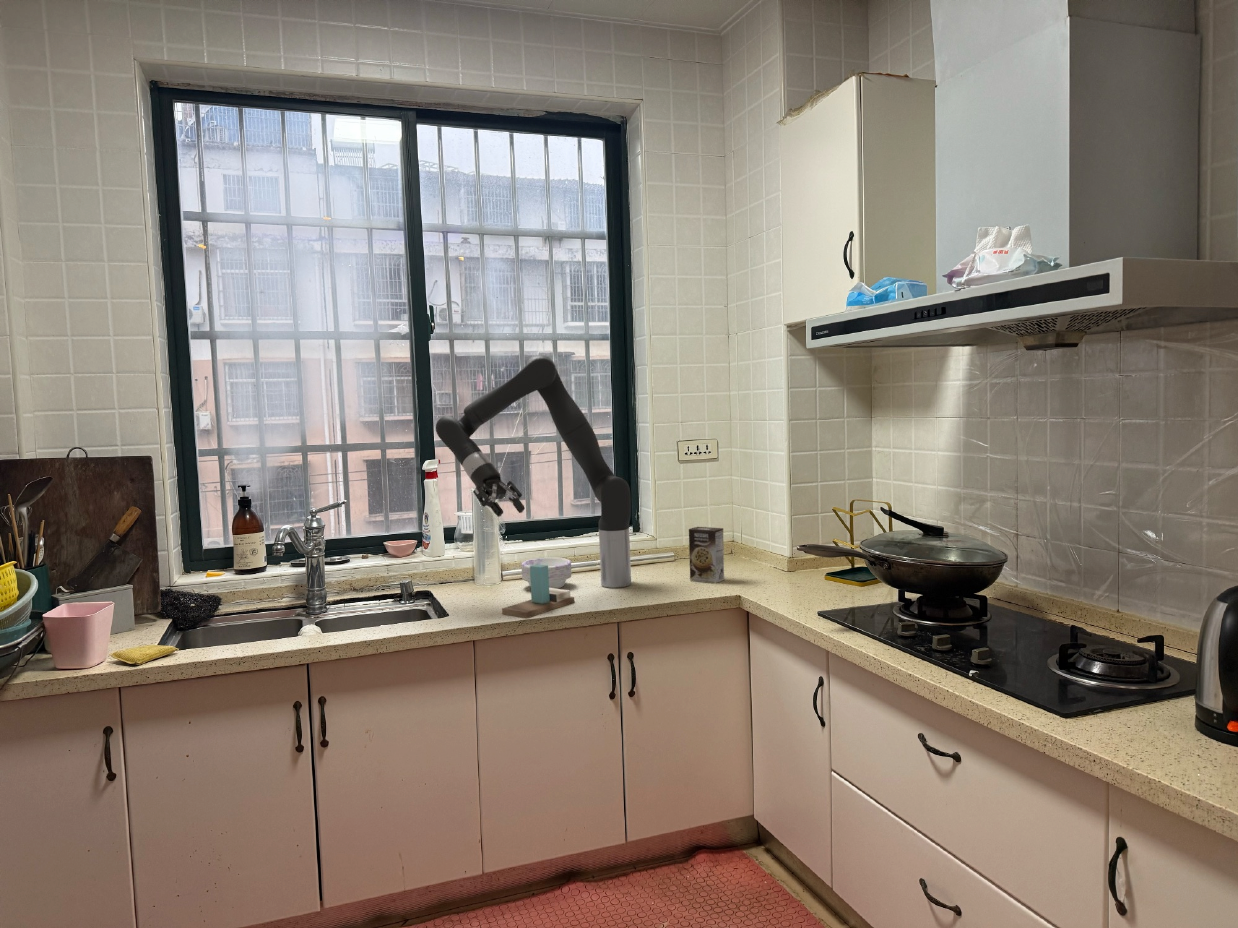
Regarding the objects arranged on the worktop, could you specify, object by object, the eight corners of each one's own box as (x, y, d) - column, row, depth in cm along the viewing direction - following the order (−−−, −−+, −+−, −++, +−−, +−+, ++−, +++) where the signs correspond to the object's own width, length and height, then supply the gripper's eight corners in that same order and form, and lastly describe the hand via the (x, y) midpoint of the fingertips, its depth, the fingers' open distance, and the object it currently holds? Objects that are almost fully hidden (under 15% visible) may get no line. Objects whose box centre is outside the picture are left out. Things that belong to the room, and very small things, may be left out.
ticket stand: (550, 598, 245) (549, 586, 245) (574, 602, 240) (573, 589, 239) (502, 613, 230) (501, 600, 229) (526, 617, 224) (526, 604, 224)
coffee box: (689, 581, 261) (687, 529, 260) (698, 577, 267) (696, 525, 266) (716, 583, 257) (714, 530, 255) (725, 579, 262) (723, 527, 261)
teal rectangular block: (538, 599, 238) (537, 564, 237) (549, 601, 235) (548, 565, 234) (531, 601, 235) (529, 566, 234) (542, 603, 233) (540, 567, 232)
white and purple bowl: (570, 591, 253) (569, 565, 253) (519, 593, 254) (517, 567, 253) (574, 581, 269) (573, 556, 268) (526, 582, 269) (524, 557, 268)
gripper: (468, 463, 237) (500, 506, 231) (504, 460, 248) (535, 500, 242) (456, 482, 240) (487, 525, 234) (492, 477, 252) (522, 518, 246)
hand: (512, 512), depth 238 cm, fingers open, 8 cm apart
